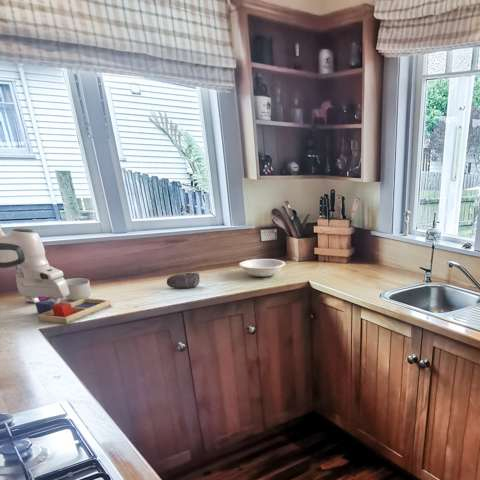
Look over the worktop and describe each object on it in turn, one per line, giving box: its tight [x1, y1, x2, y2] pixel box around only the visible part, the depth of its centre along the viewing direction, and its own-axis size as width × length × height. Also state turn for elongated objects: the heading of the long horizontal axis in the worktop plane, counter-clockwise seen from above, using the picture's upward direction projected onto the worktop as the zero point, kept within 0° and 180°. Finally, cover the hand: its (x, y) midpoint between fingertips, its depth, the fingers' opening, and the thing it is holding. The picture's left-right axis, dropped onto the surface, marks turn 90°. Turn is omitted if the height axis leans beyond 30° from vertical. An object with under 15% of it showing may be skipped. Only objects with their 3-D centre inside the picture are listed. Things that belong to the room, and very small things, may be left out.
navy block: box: [34, 299, 55, 315], centre depth 184 cm, size 4×4×4 cm
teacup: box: [65, 277, 92, 302], centre depth 201 cm, size 14×11×8 cm
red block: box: [52, 301, 73, 317], centre depth 179 cm, size 4×4×4 cm
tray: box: [37, 297, 112, 325], centre depth 185 cm, size 12×24×2 cm, turn 169°
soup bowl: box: [238, 258, 286, 278], centre depth 249 cm, size 24×24×7 cm
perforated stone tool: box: [166, 272, 201, 289], centre depth 222 cm, size 15×5×7 cm, turn 108°
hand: (48, 307), depth 184 cm, fingers open, 7 cm apart
